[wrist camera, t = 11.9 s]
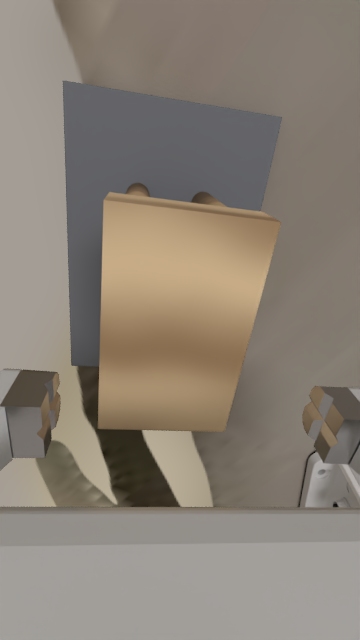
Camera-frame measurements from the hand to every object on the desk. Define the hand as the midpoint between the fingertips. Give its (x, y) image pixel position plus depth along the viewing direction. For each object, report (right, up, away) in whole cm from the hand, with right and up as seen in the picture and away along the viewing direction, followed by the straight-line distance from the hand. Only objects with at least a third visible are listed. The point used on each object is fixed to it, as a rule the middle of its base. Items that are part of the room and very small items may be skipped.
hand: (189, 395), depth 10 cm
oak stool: (-1, +6, +11) cm, 13 cm away
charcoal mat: (-2, +7, +12) cm, 14 cm away
